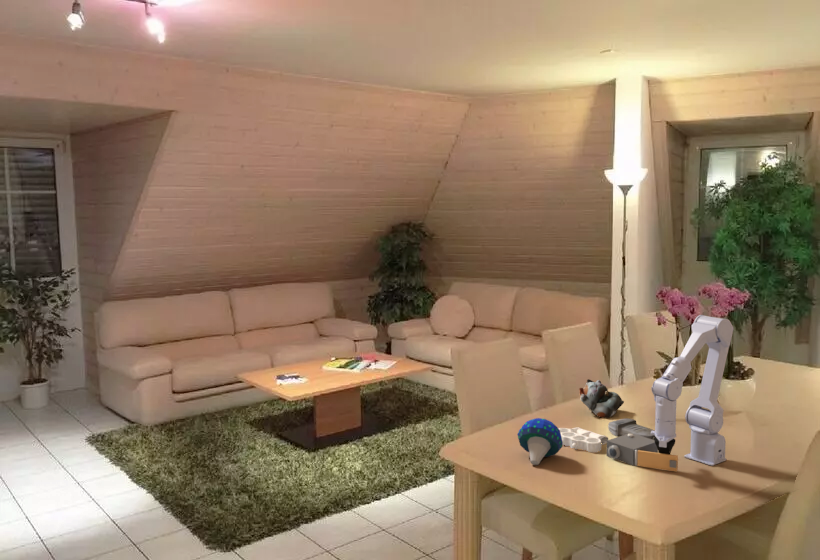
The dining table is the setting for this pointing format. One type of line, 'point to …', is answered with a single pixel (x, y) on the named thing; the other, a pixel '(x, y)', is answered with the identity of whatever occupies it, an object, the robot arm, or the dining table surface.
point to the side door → (656, 460)
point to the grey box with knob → (629, 447)
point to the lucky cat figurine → (600, 399)
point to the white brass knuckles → (582, 439)
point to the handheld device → (629, 428)
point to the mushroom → (540, 439)
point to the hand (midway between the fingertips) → (664, 463)
